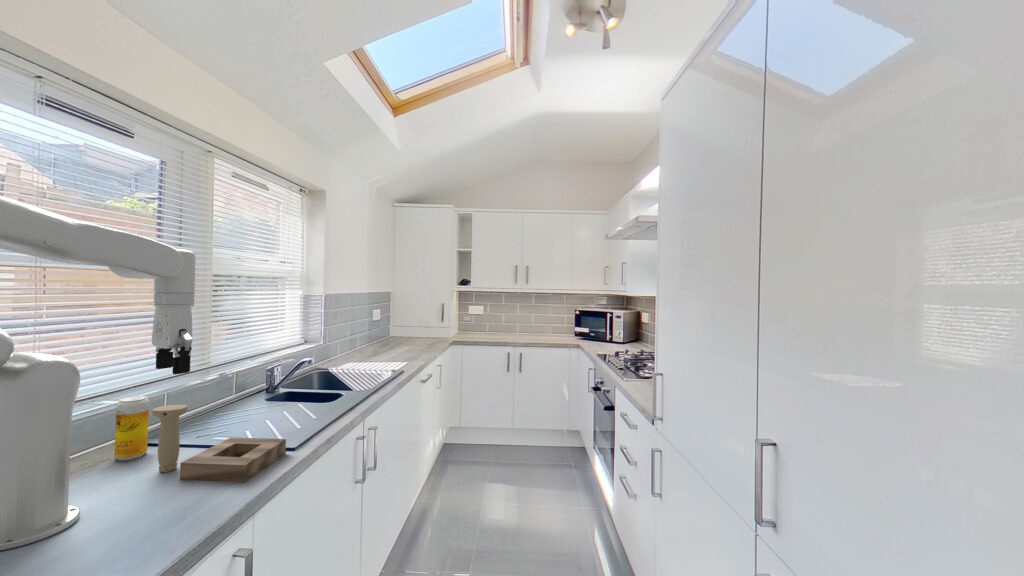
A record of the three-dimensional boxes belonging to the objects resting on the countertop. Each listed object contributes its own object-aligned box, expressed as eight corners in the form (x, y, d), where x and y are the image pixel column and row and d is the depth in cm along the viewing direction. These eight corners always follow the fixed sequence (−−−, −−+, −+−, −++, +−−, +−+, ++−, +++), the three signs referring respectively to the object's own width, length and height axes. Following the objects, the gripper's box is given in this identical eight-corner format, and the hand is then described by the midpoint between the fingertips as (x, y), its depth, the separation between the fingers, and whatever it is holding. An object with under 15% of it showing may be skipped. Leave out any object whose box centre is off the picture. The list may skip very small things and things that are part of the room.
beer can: (108, 459, 100) (110, 400, 100) (136, 450, 106) (138, 394, 106) (125, 462, 99) (128, 402, 99) (153, 453, 105) (155, 396, 105)
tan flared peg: (179, 472, 94) (181, 409, 94) (145, 476, 92) (148, 411, 92) (188, 464, 99) (190, 404, 99) (157, 467, 97) (159, 405, 97)
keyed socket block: (244, 482, 90) (245, 465, 90) (179, 480, 90) (180, 462, 90) (285, 453, 106) (286, 439, 106) (230, 452, 106) (230, 437, 106)
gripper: (140, 299, 97) (138, 368, 97) (170, 302, 88) (167, 378, 88) (178, 298, 104) (176, 364, 103) (209, 301, 95) (207, 372, 95)
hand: (172, 370), depth 96 cm, fingers open, 9 cm apart
